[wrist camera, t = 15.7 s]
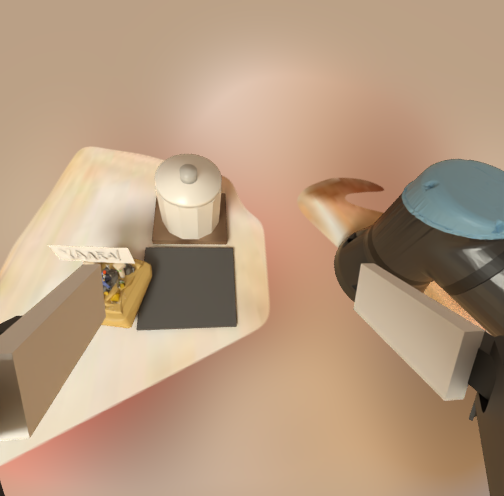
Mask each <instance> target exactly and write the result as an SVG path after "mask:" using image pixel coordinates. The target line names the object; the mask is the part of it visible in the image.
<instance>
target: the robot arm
mask: <svg viewBox="0 0 504 496" xmlns="http://www.w3.org/2000/svg"><path fill="white" fill-rule="evenodd" d="M334 268H335V274H336V277H337V280H338V282H339V284H340V286H341V288H342V289H343V291H344V292H345V293H346V294H347V296H348V297H349V298H350V299H351V300H353V301H354V302H355V303H354V310H355V311H356V312H357V313H358V314H359V315H360V316H361V317H362V318H363V319H364V320H365V321H366V322H367V323H368V324H369V325H370V326H371V327H372V328H373V329H374V330H375V331H376V332H377V334H379V336H380V337H381V338H382V339H383V340H384V341H385V342H386V343H388V344H389V346H391V348H392V349H394V351H395V352H396V353H398V355H399V356H401V357H402V358H403V360H405V362H406V363H407V364H408V365H409V366H410V367H411V368H413V370H414V371H415V372H416V373H417V374H418V375H419V376H420V377H421V378H422V379H423V380H424V381H425V382H426V383H427V384H428V385H430V387H432V389H434V391H435V392H436V393H437V394H438V395H439V396H440V397H441V398H442V399H443V400H444V401H447V400H458V399H464V396H465V393H466V390H467V387H468V384H469V385H470V386H472V387H473V388H474V389H475V390H476V391H477V395H476V398H475V401H474V404H473V407H472V410H471V413H470V416H469V419H470V420H473V418H474V417H475V416H477V420H478V426H479V432H480V438H481V444H482V449H483V455H484V461H485V468H486V473H487V479H488V485H489V491H490V496H504V171H502V170H500V169H498V168H496V167H493V166H491V165H488V164H485V163H482V162H478V161H474V160H462V159H451V160H445V161H441V162H438V163H435V164H433V165H431V166H430V167H429V168H427V169H426V170H425V171H424V172H423V173H422V174H421V175H419V176H418V177H417V178H416V179H415V180H414V181H412V182H411V183H409V184H408V185H407V186H406V187H405V189H404V191H403V193H402V194H401V195H400V196H399V198H398V199H397V200H396V201H395V202H394V203H393V204H392V205H391V206H390V207H389V208H388V209H387V211H386V212H385V213H384V214H383V215H382V216H381V217H380V218H379V219H378V220H377V221H376V222H375V223H374V224H373V225H371V226H369V227H367V228H364V229H362V230H360V231H357V232H355V233H353V234H352V235H350V236H349V237H348V238H347V239H346V240H345V241H344V242H343V243H342V244H341V246H340V247H339V248H338V250H337V252H336V255H335V260H334ZM432 281H435V282H436V283H437V284H438V285H439V286H440V287H441V288H443V289H444V290H445V291H446V292H447V293H448V294H449V295H450V296H451V297H452V298H453V299H454V300H455V301H456V302H457V303H458V304H459V305H460V306H461V307H462V308H463V309H464V310H466V311H467V312H468V313H469V314H470V315H471V316H472V317H473V318H474V319H475V320H476V321H477V322H478V323H479V324H480V325H481V326H482V327H483V328H485V329H486V330H487V331H488V332H489V333H490V334H489V333H487V332H486V331H484V330H483V329H481V328H479V327H478V326H476V325H474V324H473V323H471V322H470V321H468V320H466V319H465V318H463V317H461V316H460V315H458V314H456V313H455V312H453V311H451V310H450V309H448V308H447V307H445V306H443V305H442V304H440V303H438V302H437V301H435V300H433V299H432V298H430V297H428V296H427V295H425V294H424V293H423V292H424V291H425V289H426V288H427V286H428V285H429V284H430V282H432ZM105 318H106V313H105V303H104V293H103V283H102V273H101V264H83V265H82V266H81V267H79V268H78V269H77V270H76V271H75V272H74V273H72V274H71V275H70V276H69V277H68V278H67V279H65V280H64V281H63V282H62V283H61V284H60V285H58V286H57V287H56V288H55V289H54V290H53V291H51V292H50V293H49V294H48V295H47V296H46V297H44V298H43V299H42V300H41V301H40V302H39V303H37V304H36V305H35V306H34V307H33V308H32V309H30V310H29V311H28V312H27V313H26V314H25V315H23V316H15V317H13V318H11V319H9V320H7V321H5V322H3V323H1V324H0V441H5V440H16V439H27V438H30V437H31V435H32V434H33V432H34V431H35V429H36V427H37V426H38V424H39V423H40V421H41V420H42V418H43V416H44V415H45V413H46V412H47V410H48V408H49V407H50V405H51V404H52V402H53V400H54V399H55V397H56V396H57V394H58V392H59V391H60V389H61V388H62V386H63V385H64V383H65V381H66V380H67V378H68V377H69V375H70V373H71V372H72V370H73V369H74V367H75V365H76V364H77V362H78V361H79V359H80V358H81V356H82V354H83V353H84V351H85V350H86V348H87V346H88V345H89V343H90V342H91V340H92V338H93V337H94V335H95V334H96V332H97V330H98V329H99V327H100V326H101V324H102V323H103V321H104V319H105ZM0 496H5V495H4V492H3V489H2V485H1V483H0Z"/></svg>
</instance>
